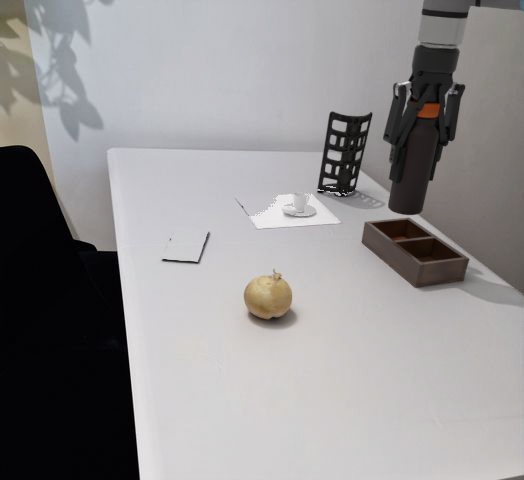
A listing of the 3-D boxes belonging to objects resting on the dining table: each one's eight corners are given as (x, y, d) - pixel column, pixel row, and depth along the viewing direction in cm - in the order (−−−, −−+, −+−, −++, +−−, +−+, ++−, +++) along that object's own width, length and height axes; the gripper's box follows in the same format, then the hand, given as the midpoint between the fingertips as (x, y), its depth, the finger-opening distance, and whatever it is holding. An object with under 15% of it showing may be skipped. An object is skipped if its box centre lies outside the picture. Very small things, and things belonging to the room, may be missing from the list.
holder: (347, 183, 150) (362, 105, 137) (363, 195, 145) (380, 116, 132) (312, 188, 146) (324, 108, 133) (327, 201, 141) (341, 119, 128)
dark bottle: (423, 206, 114) (446, 100, 103) (420, 218, 109) (444, 107, 98) (389, 201, 116) (409, 96, 105) (385, 212, 110) (405, 103, 99)
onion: (287, 328, 90) (291, 289, 86) (238, 321, 91) (240, 282, 87) (293, 303, 97) (296, 266, 93) (247, 298, 98) (249, 260, 94)
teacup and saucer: (284, 219, 128) (286, 201, 126) (274, 206, 134) (275, 189, 132) (320, 216, 130) (322, 199, 128) (308, 204, 137) (310, 187, 134)
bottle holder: (404, 237, 123) (409, 217, 121) (463, 280, 107) (469, 258, 105) (361, 242, 120) (364, 221, 117) (415, 287, 104) (420, 265, 101)
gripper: (471, 43, 102) (442, 170, 115) (376, 41, 96) (356, 176, 109) (499, 49, 96) (464, 182, 109) (399, 47, 90) (375, 189, 103)
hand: (410, 179), depth 109 cm, fingers closed on dark bottle, 7 cm apart
